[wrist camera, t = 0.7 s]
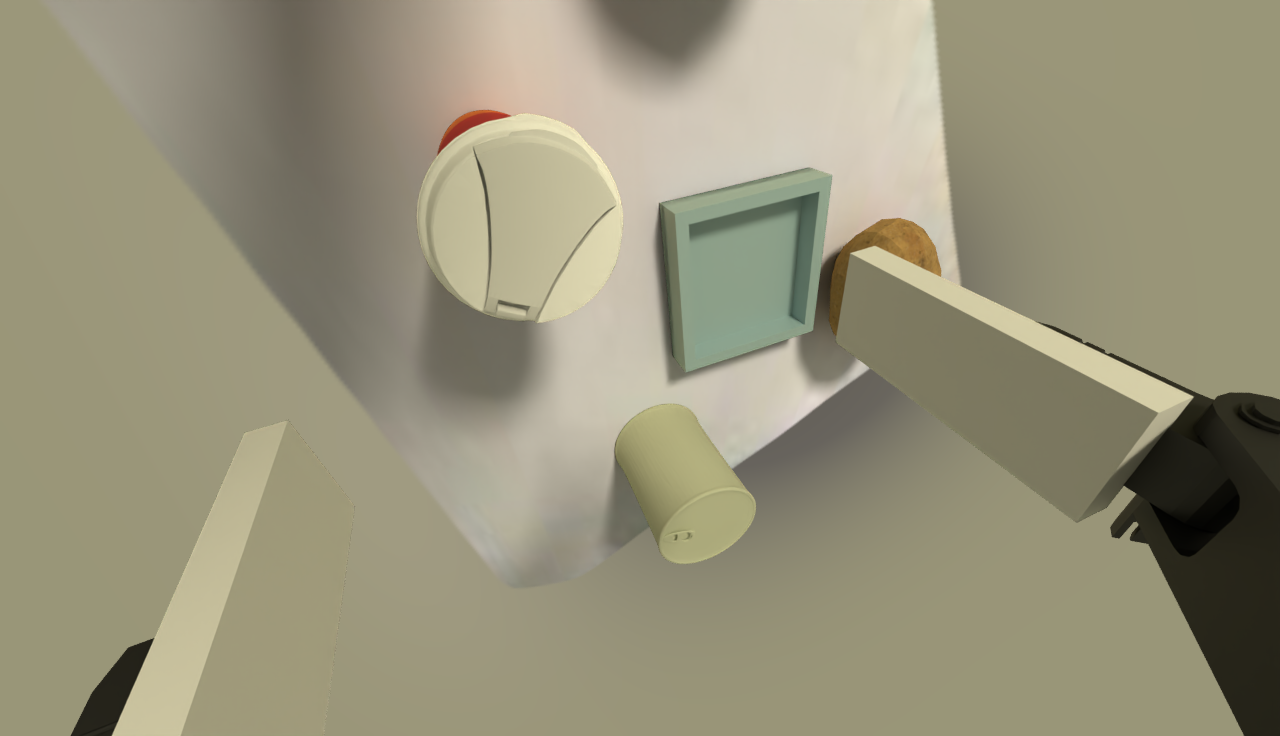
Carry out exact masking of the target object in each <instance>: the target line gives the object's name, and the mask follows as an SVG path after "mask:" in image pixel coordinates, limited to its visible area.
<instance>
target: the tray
mask: <svg viewBox="0 0 1280 736" xmlns="http://www.w3.org/2000/svg"><path fill="white" fill-rule="evenodd" d="M831 182H832V175H830V174H827V173H824V172H821V171H818V170H815V169H812V168H805V169H801V170H796V171H792V172H788V173H784V174H780V175H775V176H771V177H767V178H763V179H759V180H754V181H750V182H746V183H742V184H738V185H733V186H729V187H725V188H721V189H717V190H713V191H708V192H704V193H700V194H696V195H692V196H687V197H683V198H679V199H675V200H671V201H666V202H662V203H660V215H661V226H662V238H663V249H664V261H665V272H666V284H667V295H668V307H669V319H670V330H671V342H672V353H673V357H674V358H675V360H676V361H677V362H678V363H679V365H680V366H681V367H682V368H683V370H684V371H685V372H689V371H692V370H695V369H698V368H701V367H704V366H707V365H711V364H714V363H717V362H720V361H723V360H726V359H729V358H732V357H735V356H738V355H741V354H744V353H747V352H750V351H753V350H756V349H759V348H762V347H765V346H769V345H772V344H775V343H778V342H781V341H784V340H787V339H790V338H793V337H796V336H799V335H802V334H805V333H808V332H811V331H813V326H814V318H815V310H816V302H817V294H818V286H819V278H820V270H821V262H822V254H823V246H824V238H825V230H826V222H827V214H828V206H829V198H830V190H831Z"/></svg>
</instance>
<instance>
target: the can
mask: <svg viewBox="0 0 1280 736" xmlns="http://www.w3.org/2000/svg"><path fill="white" fill-rule="evenodd" d="M615 456H616V459H617V462H618V463H619V465H620V466H621V467H622V469H623V471H624V473H625V475H626V477H627V479H628V481H629V483H630V485H631V487H632V489H633V492H634V494H635V496H636V498H637V500H638V502H639V504H640V507H641V509H642V511H643V513H644V515H645V517H646V520H647V522H648V524H649V526H650V529H651V531H652V533H653V535H654V537H655V540H656V542H657V545H658V548H659V551H660V553H661V555H662V556H663V557H664V558H665V559H667V560H668V561H670V562H673V563H678V564H690V563H696V562H700V561H703V560H706V559H709V558H711V557H713V556H715V555H717V554H719V553H721V552H722V551H724V550H726V549H727V548H728V547H730V546H731V545H732V544H734V543H735V542H736V541H737V540H738V539H739V538H740V537H741V536H742V535H743V534H744V533H745V532H746V530H747V529H748V528H749V526H750V524H751V523H752V521H753V518H754V516H755V511H756V503H755V500H754V498H753V496H752V495H751V494H750V493H749V492H748V491H747V490H746V488H745V487H744V486H743V484H742V483H741V481H740V480H739V479H738V477H737V476H736V475H735V473H734V472H733V471H732V469H731V468H730V466H729V465H728V464H727V462H726V461H725V460H724V458H723V457H722V455H721V454H720V453H719V451H718V450H717V448H716V447H715V446H714V444H713V443H712V442H711V440H710V439H709V437H708V436H707V434H706V433H705V432H704V430H703V429H702V427H701V426H700V424H699V423H698V420H697V418H696V416H695V415H694V413H693V412H692V411H691V410H689V409H688V408H686V407H684V406H681V405H677V404H663V405H658V406H654V407H651V408H649V409H647V410H645V411H643V412H641V413H639V414H638V415H636V416H635V417H634V418H633V419H631V420H630V421H629V422H628V423H627V424H626V426H625V427H624V428H623V429H622V431H621V432H620V434H619V436H618V438H617V441H616V445H615Z"/></svg>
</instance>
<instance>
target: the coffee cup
mask: <svg viewBox="0 0 1280 736" xmlns="http://www.w3.org/2000/svg"><path fill="white" fill-rule="evenodd" d="M416 218H417V231H418V236H419V240H420V244H421V248H422V251H423V253H424V256H425V258H426V260H427V263H428V265H429V266H430V268H431V270H432V271H433V273H434V274H435V276H436V277H437V279H438V280H439V281H440V282H441V283H442V285H443V286H444V287H445V288H446V289H447V290H448V291H449V292H450V293H451V294H453V295H454V296H455V297H456V298H457V299H458V300H460V301H461V302H463V303H464V304H466V305H468V306H469V307H471V308H473V309H475V310H477V311H479V312H482V313H484V314H486V315H489V316H493V317H497V318H500V319H507V320H515V321H535V323H541V322H547V321H551V320H555V319H558V318H561V317H564V316H566V315H568V314H570V313H572V312H574V311H576V310H577V309H579V308H580V307H582V306H583V305H585V304H586V303H587V302H588V301H590V300H591V299H592V298H593V297H594V296H595V295H596V294H597V293H598V292H599V291H600V289H601V288H602V287H603V286H604V284H605V283H606V281H607V280H608V278H609V277H610V275H611V273H612V271H613V268H614V266H615V264H616V261H617V258H618V254H619V251H620V244H621V238H622V231H623V212H622V205H621V199H620V195H619V192H618V189H617V186H616V183H615V181H614V179H613V177H612V175H611V173H610V171H609V169H608V168H607V166H606V165H605V163H604V162H603V161H602V159H601V158H600V156H599V155H598V154H597V153H596V152H595V151H594V150H593V149H592V148H591V147H590V146H589V145H588V144H587V143H586V142H585V140H584V139H583V138H582V137H581V136H580V135H579V134H578V132H577V131H576V130H575V129H573V128H571V127H569V126H567V125H565V124H563V123H561V122H560V121H557V120H554V119H551V118H548V117H545V116H541V115H534V114H527V113H523V114H519V115H515V116H510V115H507V114H505V113H501V112H497V111H492V110H478V111H473V112H470V113H467V114H465V115H463V116H461V117H459V118H458V119H457V120H455V121H454V122H453V123H452V124H451V125H450V127H449V128H448V129H447V131H446V132H445V134H444V136H443V138H442V141H441V143H440V146H439V150H438V154H437V157H436V159H435V160H434V161H433V163H432V164H431V165H430V167H429V170H428V172H427V174H426V176H425V178H424V180H423V182H422V186H421V189H420V193H419V196H418V204H417V214H416Z"/></svg>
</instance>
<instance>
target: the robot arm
mask: <svg viewBox="0 0 1280 736" xmlns="http://www.w3.org/2000/svg"><path fill="white" fill-rule="evenodd" d="M836 343H837V344H839V345H840V346H841V347H843V348H844V349H845V350H847V351H848V352H849V353H851V354H852V355H853V356H855V357H856V358H857V359H859V360H860V361H861V362H863V363H864V364H865V365H867V366H868V367H869V368H871V369H872V370H873V371H875V372H876V373H877V374H879V375H880V376H882V377H883V378H884V379H885V380H887V381H888V382H889V383H891V384H892V385H894V386H895V387H896V388H897V389H899V390H900V391H901V392H903V393H904V394H905V395H907V396H908V397H909V398H911V399H912V400H913V401H915V402H916V403H917V404H919V405H920V406H921V407H923V408H924V409H925V410H927V411H928V412H929V413H931V414H932V415H933V416H935V417H936V418H938V419H939V420H940V421H941V422H943V423H944V424H945V425H947V426H948V427H949V428H951V429H952V430H953V431H955V432H956V433H958V434H959V435H960V436H961V437H963V438H964V439H965V440H967V441H968V442H969V443H971V444H972V445H973V446H975V447H976V448H977V449H979V450H980V451H981V452H983V453H984V454H985V455H987V456H988V457H989V458H991V459H992V460H993V461H995V462H996V463H997V464H999V465H1000V466H1001V467H1003V468H1004V469H1005V470H1007V471H1008V472H1009V473H1011V474H1012V475H1013V476H1015V477H1016V478H1017V479H1019V480H1020V481H1021V482H1023V483H1024V484H1025V485H1027V486H1028V487H1029V488H1031V489H1032V490H1033V491H1035V492H1036V493H1037V494H1039V495H1040V496H1041V497H1043V498H1044V499H1045V500H1047V501H1048V502H1049V503H1051V504H1052V505H1053V506H1055V507H1056V508H1057V509H1059V510H1060V511H1061V512H1063V513H1064V514H1065V515H1067V516H1068V517H1069V518H1071V519H1072V520H1073V521H1075V522H1076V523H1077V522H1079V521H1081V520H1083V519H1085V518H1087V517H1089V516H1091V515H1093V514H1095V513H1097V512H1099V511H1101V510H1103V509H1105V508H1107V507H1108V505H1109V504H1110V503H1111V501H1112V500H1113V499H1114V498H1115V496H1116V495H1117V494H1118V492H1119V491H1120V490H1121V489H1122V487H1123V486H1125V487H1127V488H1128V489H1130V490H1132V491H1133V492H1135V493H1136V495H1135V497H1134V498H1133V499H1132V500H1131V501H1130V503H1129V504H1128V505H1127V506H1126V508H1125V509H1124V510H1123V511H1122V512H1121V514H1120V515H1119V516H1118V517H1117V519H1116V520H1115V521H1114V523H1113V524H1112V526H1111V527H1110V528H1111V534H1112V537H1115V538H1120V537H1121V536H1122V535H1123V534H1124V533H1125V531H1126V530H1127V529H1128V528H1129V527H1130V526H1131V525H1132V523H1133V522H1137V523H1138V524H1139V525H1138V527H1137V528H1136V529H1135V530H1134V531H1133V532H1132V534H1131V537H1130V540H1131V541H1135V542H1141V543H1146V544H1149V546H1150V548H1151V550H1152V552H1153V554H1154V556H1155V558H1156V560H1157V562H1158V564H1159V566H1160V568H1161V570H1162V572H1163V574H1164V576H1165V578H1166V580H1167V582H1168V584H1169V586H1170V588H1171V590H1172V592H1173V594H1174V596H1175V598H1176V600H1177V602H1178V604H1179V606H1180V608H1181V610H1182V612H1183V614H1184V616H1185V618H1186V620H1187V622H1188V624H1189V626H1190V628H1191V630H1192V632H1193V634H1194V636H1195V638H1196V640H1197V642H1198V644H1199V646H1200V648H1201V650H1202V652H1203V654H1204V656H1205V658H1206V660H1207V662H1208V664H1209V666H1210V668H1211V670H1212V672H1213V674H1214V676H1215V678H1216V680H1217V682H1218V684H1219V686H1220V688H1221V690H1222V692H1223V694H1224V696H1225V698H1226V700H1227V702H1228V704H1229V706H1230V708H1231V710H1232V712H1233V714H1234V716H1235V718H1236V720H1237V722H1238V724H1239V726H1240V728H1241V730H1242V732H1243V734H1244V736H1280V400H1279V399H1276V398H1273V397H1269V396H1263V395H1258V394H1252V393H1227V394H1224V395H1220V396H1217V397H1216V399H1215V400H1213V399H1210V398H1208V397H1205V396H1203V395H1200V394H1198V393H1196V392H1193V391H1191V390H1189V389H1187V388H1185V387H1183V386H1181V385H1178V384H1176V383H1174V382H1172V381H1170V380H1168V379H1166V378H1163V377H1161V376H1159V375H1157V374H1155V373H1152V372H1150V371H1148V370H1146V369H1144V368H1142V367H1140V366H1138V365H1136V364H1133V363H1131V362H1129V361H1127V360H1125V359H1123V358H1121V357H1119V356H1116V355H1114V354H1112V353H1110V354H1106V353H1105V350H1104V349H1101V348H1099V347H1097V346H1095V345H1093V344H1090V343H1088V342H1087V343H1083V342H1082V339H1080V338H1078V337H1076V336H1074V335H1071V334H1069V333H1067V332H1065V331H1063V330H1061V329H1059V328H1056V327H1054V326H1050V325H1047V324H1043V323H1040V322H1036V321H1033V320H1031V319H1029V318H1026V317H1024V316H1022V315H1020V314H1018V313H1016V312H1014V311H1012V310H1010V309H1007V308H1005V307H1003V306H1001V305H999V304H997V303H995V302H993V301H990V300H988V299H986V298H984V297H982V296H980V295H978V294H976V293H974V292H971V291H969V290H967V289H965V288H963V287H961V286H959V285H957V284H955V283H953V282H950V281H948V280H946V279H944V278H942V277H940V276H938V275H936V274H934V273H931V272H929V271H927V270H925V269H923V268H921V267H919V266H917V265H915V264H912V263H910V262H908V261H906V260H904V259H902V258H900V257H898V256H895V255H893V254H891V253H889V252H887V251H885V250H883V249H881V248H879V247H876V246H873V247H869V248H866V249H863V250H859V251H856V252H852V253H850V257H849V263H848V269H847V275H846V281H845V287H844V293H843V300H842V306H841V312H840V318H839V324H838V330H837V336H836ZM354 510H355V506H354V504H353V503H352V502H351V501H350V499H349V498H348V497H347V495H346V494H345V493H344V491H343V490H342V489H341V488H340V486H339V485H338V484H337V482H336V481H335V480H334V479H333V477H332V476H331V475H330V473H329V472H328V471H327V470H326V468H325V467H324V466H323V464H322V463H321V462H320V461H319V459H318V458H317V457H316V455H315V454H314V453H313V451H312V450H311V449H310V448H309V446H308V445H307V444H306V442H305V441H304V440H303V439H302V437H301V436H300V435H299V434H298V432H297V431H296V430H295V428H294V427H293V426H292V424H291V423H290V422H289V421H288V420H286V421H283V422H279V423H276V424H272V425H269V426H265V427H262V428H259V429H255V430H252V431H249V432H245V433H244V435H243V437H242V439H241V442H240V444H239V446H238V448H237V451H236V453H235V455H234V458H233V460H232V462H231V464H230V467H229V469H228V471H227V474H226V476H225V479H224V481H223V483H222V485H221V487H220V490H219V492H218V494H217V496H216V499H215V501H214V503H213V506H212V508H211V510H210V513H209V515H208V517H207V519H206V522H205V524H204V526H203V529H202V531H201V533H200V536H199V538H198V540H197V542H196V545H195V547H194V549H193V551H192V554H191V556H190V559H189V561H188V563H187V565H186V567H185V570H184V572H183V574H182V577H181V579H180V581H179V583H178V586H177V589H176V590H175V593H174V595H173V597H172V599H171V602H170V604H169V606H168V609H167V611H166V613H165V615H164V618H163V620H162V622H161V625H160V627H159V629H158V631H157V634H156V636H155V638H153V639H150V640H148V641H145V642H142V643H139V644H137V645H134V646H131V647H129V648H128V649H127V650H126V651H125V652H124V654H123V655H122V656H121V657H120V659H119V660H118V661H117V663H116V664H115V665H114V666H113V667H112V668H111V670H110V671H109V672H108V673H107V675H106V676H105V677H104V678H103V680H102V681H101V682H100V683H99V685H98V686H97V687H96V688H95V690H94V691H93V692H92V694H91V696H90V698H89V700H88V702H87V704H86V706H85V708H84V710H83V712H82V714H81V716H80V718H79V720H78V722H77V724H76V726H75V728H74V730H73V732H72V734H71V736H324V729H325V722H326V714H327V707H328V699H329V693H330V685H331V678H332V670H333V663H334V656H335V648H336V642H337V634H338V627H339V619H340V612H341V605H342V597H343V590H344V582H345V576H346V568H347V561H348V554H349V546H350V539H351V532H352V525H353V517H354Z"/></svg>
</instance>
